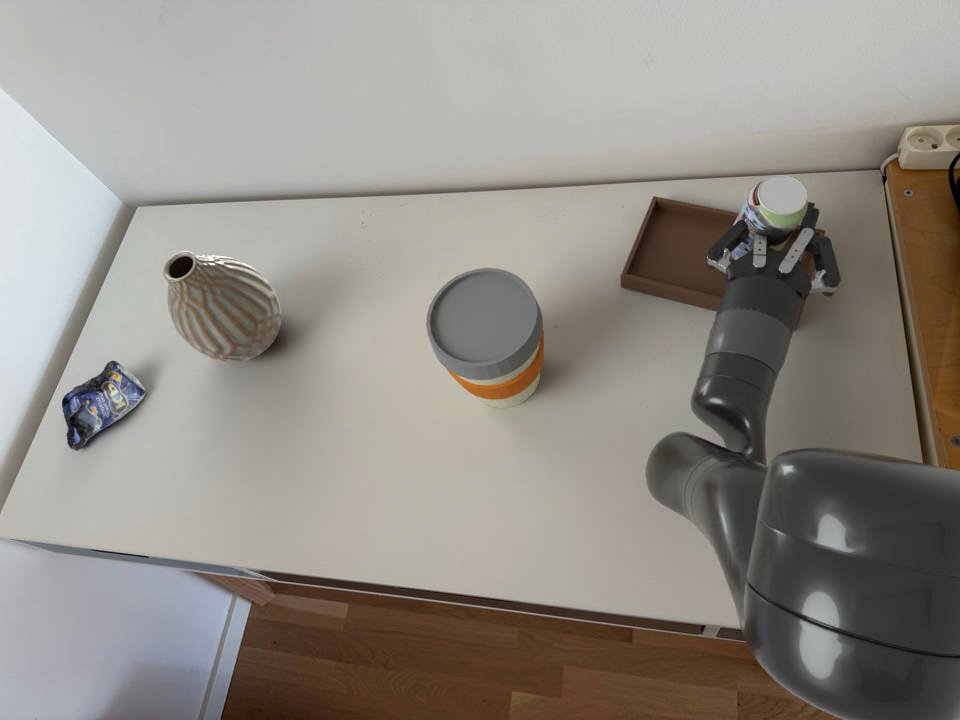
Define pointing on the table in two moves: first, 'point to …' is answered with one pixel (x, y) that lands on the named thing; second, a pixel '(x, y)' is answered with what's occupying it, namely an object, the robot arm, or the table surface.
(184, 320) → the vase
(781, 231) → the beverage can
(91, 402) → the snack package
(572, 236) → the table surface
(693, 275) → the serving tray
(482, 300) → the reusable coffee cup
